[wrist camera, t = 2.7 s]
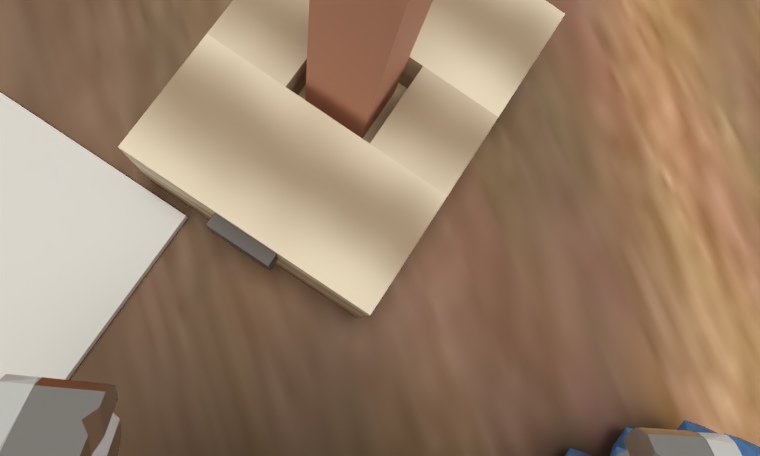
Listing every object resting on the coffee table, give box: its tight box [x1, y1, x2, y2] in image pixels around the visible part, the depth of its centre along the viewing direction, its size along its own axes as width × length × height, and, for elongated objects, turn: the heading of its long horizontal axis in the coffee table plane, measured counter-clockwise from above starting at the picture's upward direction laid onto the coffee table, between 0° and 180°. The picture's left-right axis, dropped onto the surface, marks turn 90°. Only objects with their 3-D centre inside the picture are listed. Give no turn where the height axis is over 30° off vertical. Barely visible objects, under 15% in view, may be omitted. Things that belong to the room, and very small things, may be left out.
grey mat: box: [0, 92, 188, 380], centre depth 30 cm, size 11×11×1 cm
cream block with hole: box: [118, 0, 565, 318], centre depth 30 cm, size 17×12×6 cm
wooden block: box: [305, 0, 433, 139], centre depth 23 cm, size 3×3×14 cm
